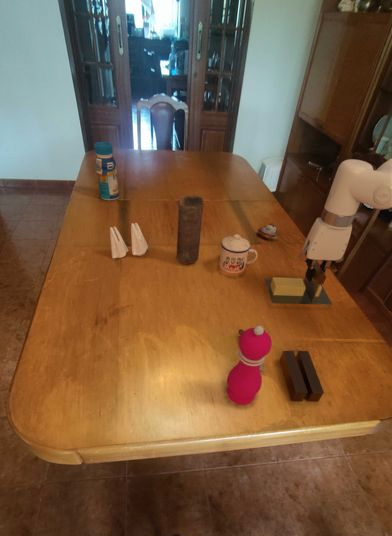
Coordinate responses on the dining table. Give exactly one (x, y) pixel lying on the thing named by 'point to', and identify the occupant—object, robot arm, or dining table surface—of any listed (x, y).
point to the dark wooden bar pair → (301, 376)
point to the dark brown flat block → (315, 281)
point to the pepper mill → (248, 366)
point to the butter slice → (318, 291)
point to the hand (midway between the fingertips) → (312, 278)
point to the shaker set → (119, 246)
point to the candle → (189, 228)
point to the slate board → (298, 297)
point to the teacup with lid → (235, 254)
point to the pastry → (268, 232)
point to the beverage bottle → (106, 171)
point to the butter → (287, 286)
